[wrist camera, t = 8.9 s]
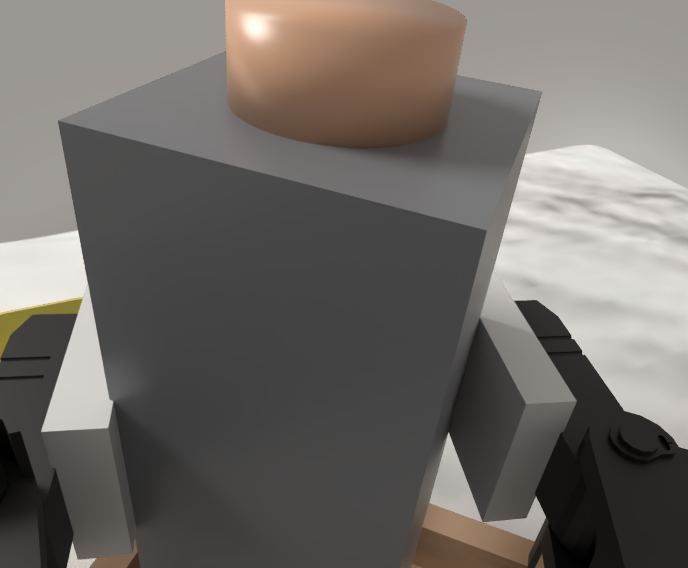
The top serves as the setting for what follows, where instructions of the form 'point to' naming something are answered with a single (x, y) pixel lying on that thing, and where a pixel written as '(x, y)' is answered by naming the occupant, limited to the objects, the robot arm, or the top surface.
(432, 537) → the box
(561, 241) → the top surface
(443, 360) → the grey tall block
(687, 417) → the top surface
